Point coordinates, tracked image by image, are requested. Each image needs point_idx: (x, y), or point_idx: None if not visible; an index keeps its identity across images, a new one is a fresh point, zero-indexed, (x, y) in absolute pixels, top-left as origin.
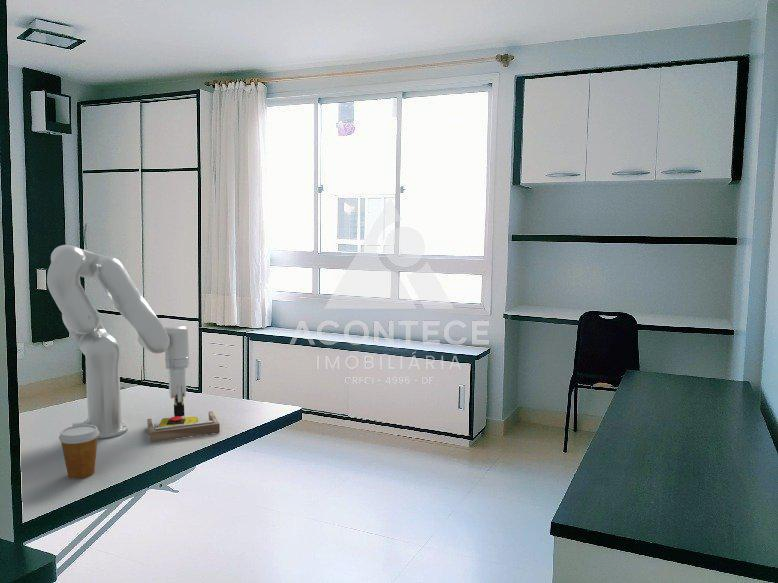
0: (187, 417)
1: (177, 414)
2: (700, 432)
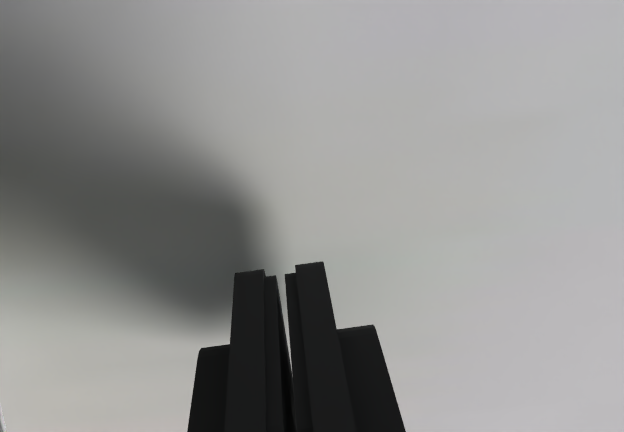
0: None
1: (200, 349)
2: None
